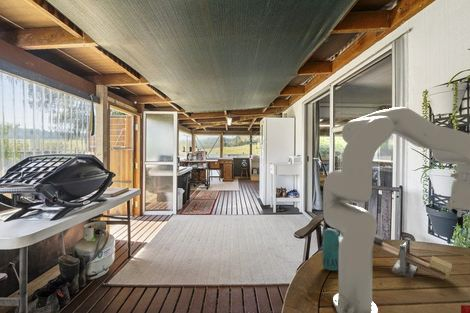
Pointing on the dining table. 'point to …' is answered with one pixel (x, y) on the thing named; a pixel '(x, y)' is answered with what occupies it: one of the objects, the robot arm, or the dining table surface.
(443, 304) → the dining table surface
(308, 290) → the dining table surface
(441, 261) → the block
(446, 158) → the robot arm
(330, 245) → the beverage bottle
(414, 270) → the stand
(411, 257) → the beam
